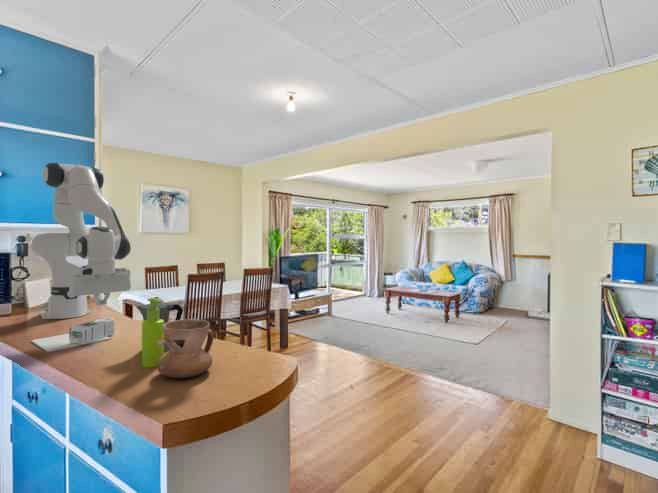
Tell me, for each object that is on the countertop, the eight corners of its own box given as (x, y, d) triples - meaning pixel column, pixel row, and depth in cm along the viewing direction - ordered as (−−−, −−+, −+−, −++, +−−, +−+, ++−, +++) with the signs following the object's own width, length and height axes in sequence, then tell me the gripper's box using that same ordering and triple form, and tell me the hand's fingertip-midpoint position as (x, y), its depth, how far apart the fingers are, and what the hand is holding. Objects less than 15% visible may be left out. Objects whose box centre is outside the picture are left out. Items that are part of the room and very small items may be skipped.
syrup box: (115, 318, 135) (83, 327, 120) (114, 334, 135) (83, 344, 120) (101, 318, 136) (68, 326, 121) (101, 333, 136) (68, 343, 121)
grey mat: (31, 341, 125) (31, 340, 125) (91, 330, 140) (91, 329, 140) (47, 352, 114) (47, 350, 114) (111, 339, 129) (111, 337, 129)
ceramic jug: (172, 390, 88) (174, 334, 88) (141, 376, 96) (143, 324, 96) (228, 369, 103) (230, 321, 103) (197, 359, 111) (199, 314, 111)
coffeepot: (128, 354, 113) (129, 299, 113) (143, 345, 123) (143, 294, 122) (176, 354, 114) (177, 299, 114) (187, 345, 123) (188, 295, 123)
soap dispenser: (151, 370, 101) (151, 301, 100) (137, 365, 104) (138, 298, 104) (169, 364, 106) (170, 298, 105) (156, 359, 109) (156, 295, 109)
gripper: (126, 267, 144) (126, 300, 145) (67, 270, 128) (67, 307, 128) (133, 268, 141) (133, 302, 141) (73, 271, 124) (73, 310, 124)
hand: (101, 304), depth 134 cm, fingers closed
